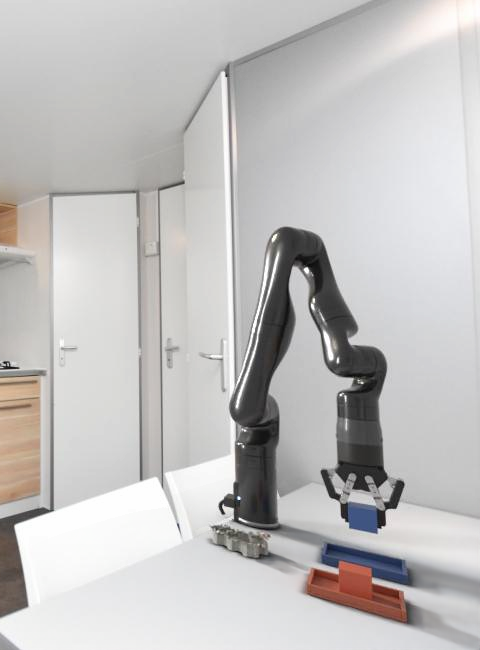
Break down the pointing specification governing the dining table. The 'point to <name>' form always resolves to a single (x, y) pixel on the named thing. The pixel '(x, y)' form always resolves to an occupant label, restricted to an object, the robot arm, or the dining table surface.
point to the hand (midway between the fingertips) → (362, 524)
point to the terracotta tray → (383, 597)
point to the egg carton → (241, 540)
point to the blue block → (362, 517)
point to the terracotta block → (355, 580)
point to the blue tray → (366, 561)
